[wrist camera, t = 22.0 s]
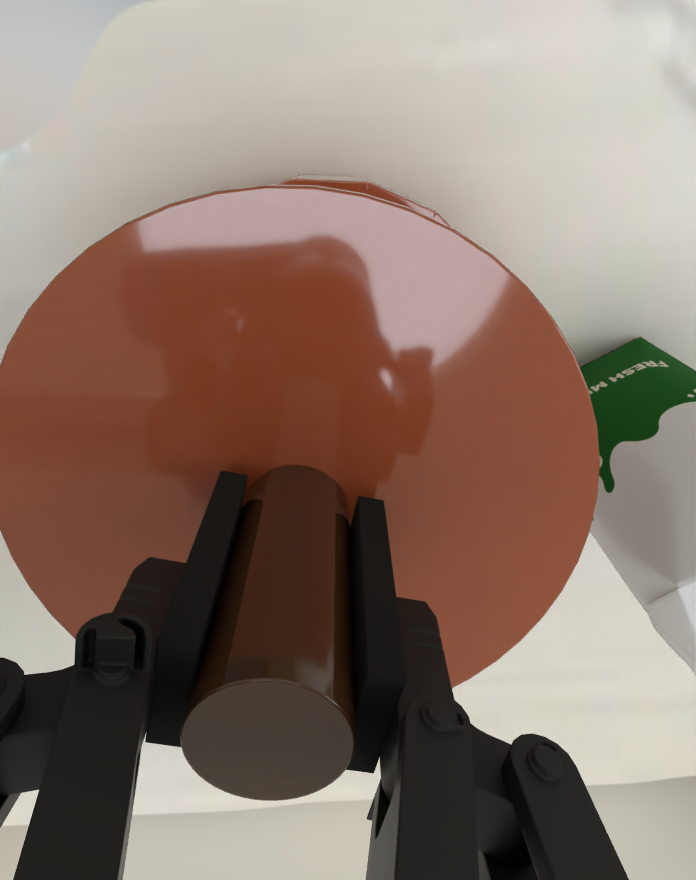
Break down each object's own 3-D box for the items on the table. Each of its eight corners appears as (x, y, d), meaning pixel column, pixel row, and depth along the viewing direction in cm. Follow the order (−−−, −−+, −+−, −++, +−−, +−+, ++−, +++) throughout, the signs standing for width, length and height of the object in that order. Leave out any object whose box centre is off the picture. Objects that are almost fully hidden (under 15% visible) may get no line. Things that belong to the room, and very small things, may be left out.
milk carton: (650, 314, 34) (1019, 496, 16) (695, 441, 37) (1042, 711, 19) (505, 388, 35) (686, 631, 17) (561, 503, 39) (761, 806, 21)
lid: (9, 658, 22) (-190, 960, 14) (-3, 105, 15) (-454, 36, 6) (483, 727, 24) (559, 1031, 16) (686, 268, 17) (1041, 380, 8)
